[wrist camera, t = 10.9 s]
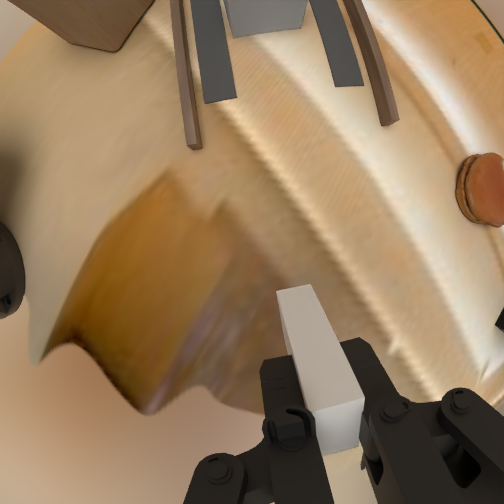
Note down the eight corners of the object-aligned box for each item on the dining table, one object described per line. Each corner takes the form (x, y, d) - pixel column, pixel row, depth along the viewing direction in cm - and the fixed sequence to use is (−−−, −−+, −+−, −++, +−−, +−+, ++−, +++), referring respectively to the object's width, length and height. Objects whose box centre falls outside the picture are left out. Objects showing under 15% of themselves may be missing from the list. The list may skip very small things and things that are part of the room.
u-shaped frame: (193, 150, 31) (185, 144, 27) (173, -20, 27) (167, -34, 23) (388, 125, 30) (401, 118, 26) (333, -36, 26) (338, -51, 22)
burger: (452, 222, 32) (474, 225, 27) (453, 148, 30) (475, 143, 26) (500, 227, 32) (522, 231, 27) (501, 161, 30) (523, 159, 25)
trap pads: (204, 103, 30) (204, 103, 30) (190, -1, 27) (190, -2, 27) (363, 85, 29) (364, 85, 29) (329, -15, 27) (330, -15, 26)
